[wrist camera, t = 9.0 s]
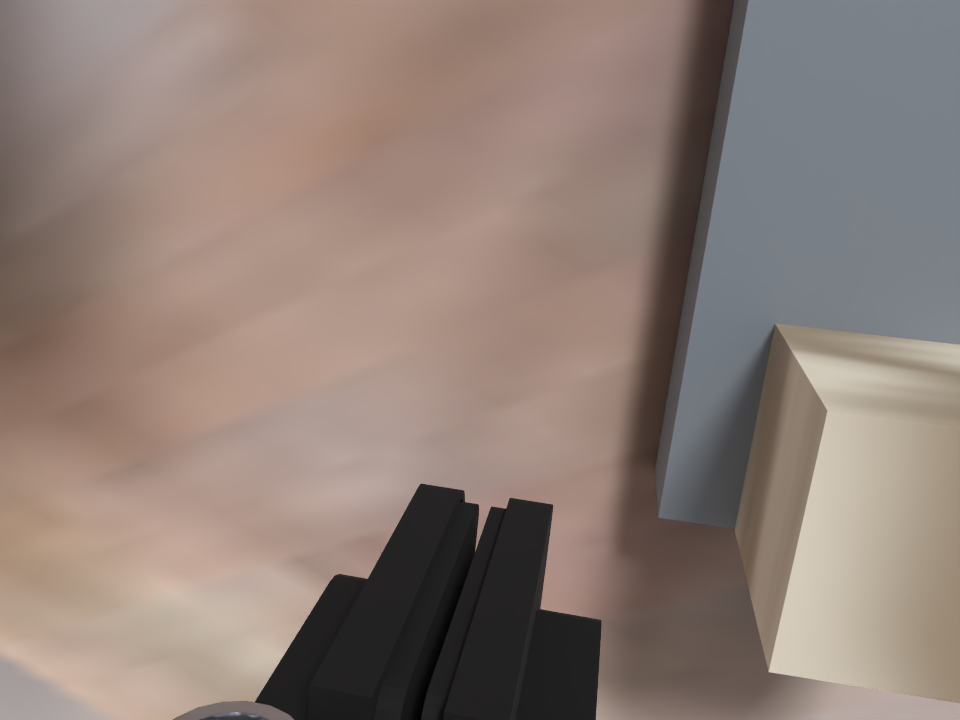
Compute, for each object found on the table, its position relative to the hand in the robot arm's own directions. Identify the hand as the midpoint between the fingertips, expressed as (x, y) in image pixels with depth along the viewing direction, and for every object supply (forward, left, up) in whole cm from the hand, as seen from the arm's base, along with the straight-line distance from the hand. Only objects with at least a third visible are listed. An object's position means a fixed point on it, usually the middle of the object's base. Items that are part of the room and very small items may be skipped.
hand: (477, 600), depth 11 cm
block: (+7, -1, -9) cm, 12 cm away
